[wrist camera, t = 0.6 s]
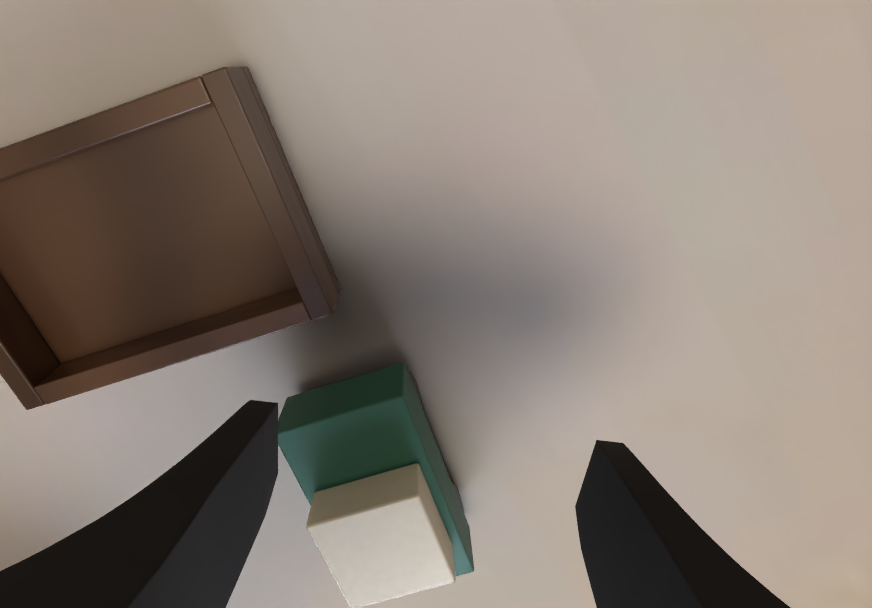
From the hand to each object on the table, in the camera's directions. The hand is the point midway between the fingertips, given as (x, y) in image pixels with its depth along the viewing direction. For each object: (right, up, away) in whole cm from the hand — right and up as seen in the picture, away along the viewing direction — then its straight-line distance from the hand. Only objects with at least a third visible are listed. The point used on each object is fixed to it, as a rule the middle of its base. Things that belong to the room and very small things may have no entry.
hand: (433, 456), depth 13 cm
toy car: (-2, -3, +12) cm, 13 cm away
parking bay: (-11, +6, +8) cm, 15 cm away
